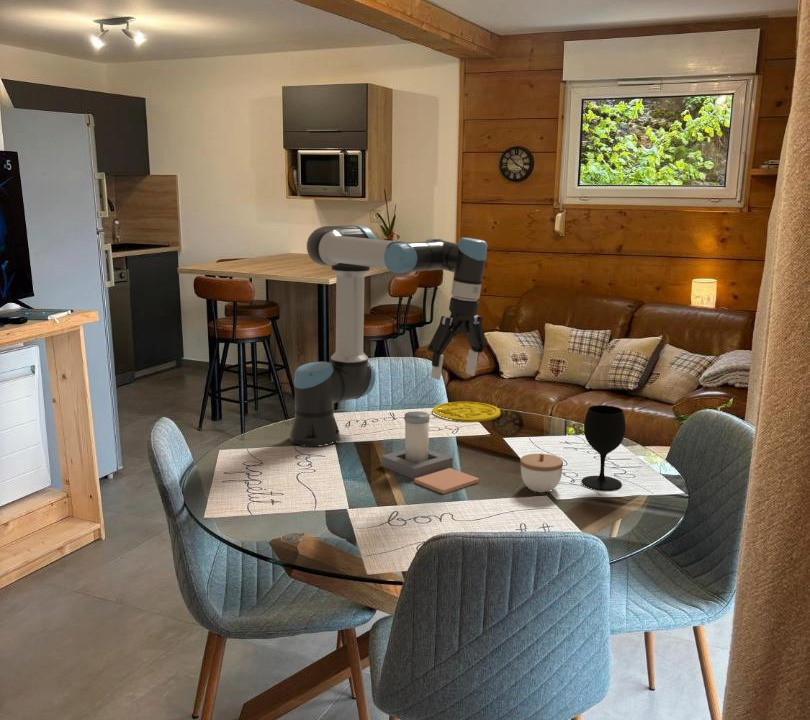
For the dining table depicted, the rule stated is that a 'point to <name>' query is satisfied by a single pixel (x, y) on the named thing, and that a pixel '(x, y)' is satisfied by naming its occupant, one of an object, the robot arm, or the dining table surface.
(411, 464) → the frame
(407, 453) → the filter cartridge
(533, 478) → the lidded jar
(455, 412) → the decorative medallion
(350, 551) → the dining table surface
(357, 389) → the robot arm
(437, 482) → the rubber mat
